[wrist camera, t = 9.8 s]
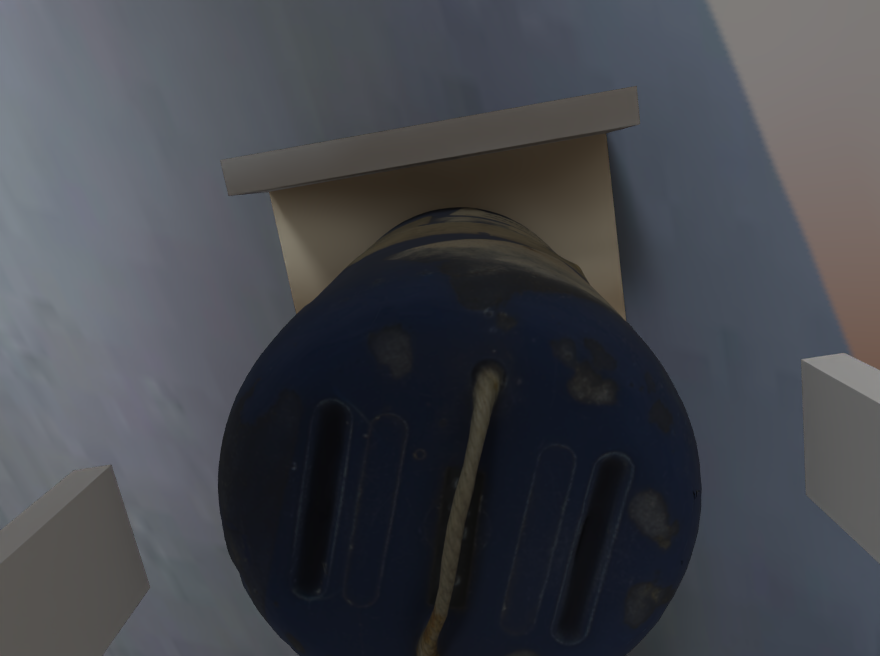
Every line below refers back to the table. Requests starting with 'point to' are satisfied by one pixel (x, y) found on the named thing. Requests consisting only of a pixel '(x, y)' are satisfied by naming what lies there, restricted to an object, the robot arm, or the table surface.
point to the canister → (459, 457)
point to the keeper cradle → (449, 185)
